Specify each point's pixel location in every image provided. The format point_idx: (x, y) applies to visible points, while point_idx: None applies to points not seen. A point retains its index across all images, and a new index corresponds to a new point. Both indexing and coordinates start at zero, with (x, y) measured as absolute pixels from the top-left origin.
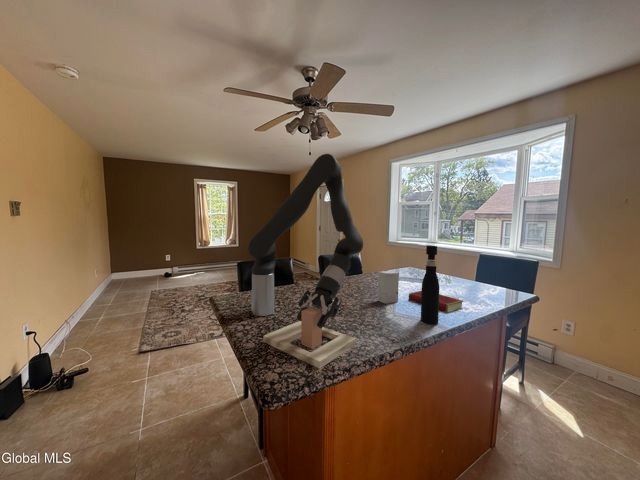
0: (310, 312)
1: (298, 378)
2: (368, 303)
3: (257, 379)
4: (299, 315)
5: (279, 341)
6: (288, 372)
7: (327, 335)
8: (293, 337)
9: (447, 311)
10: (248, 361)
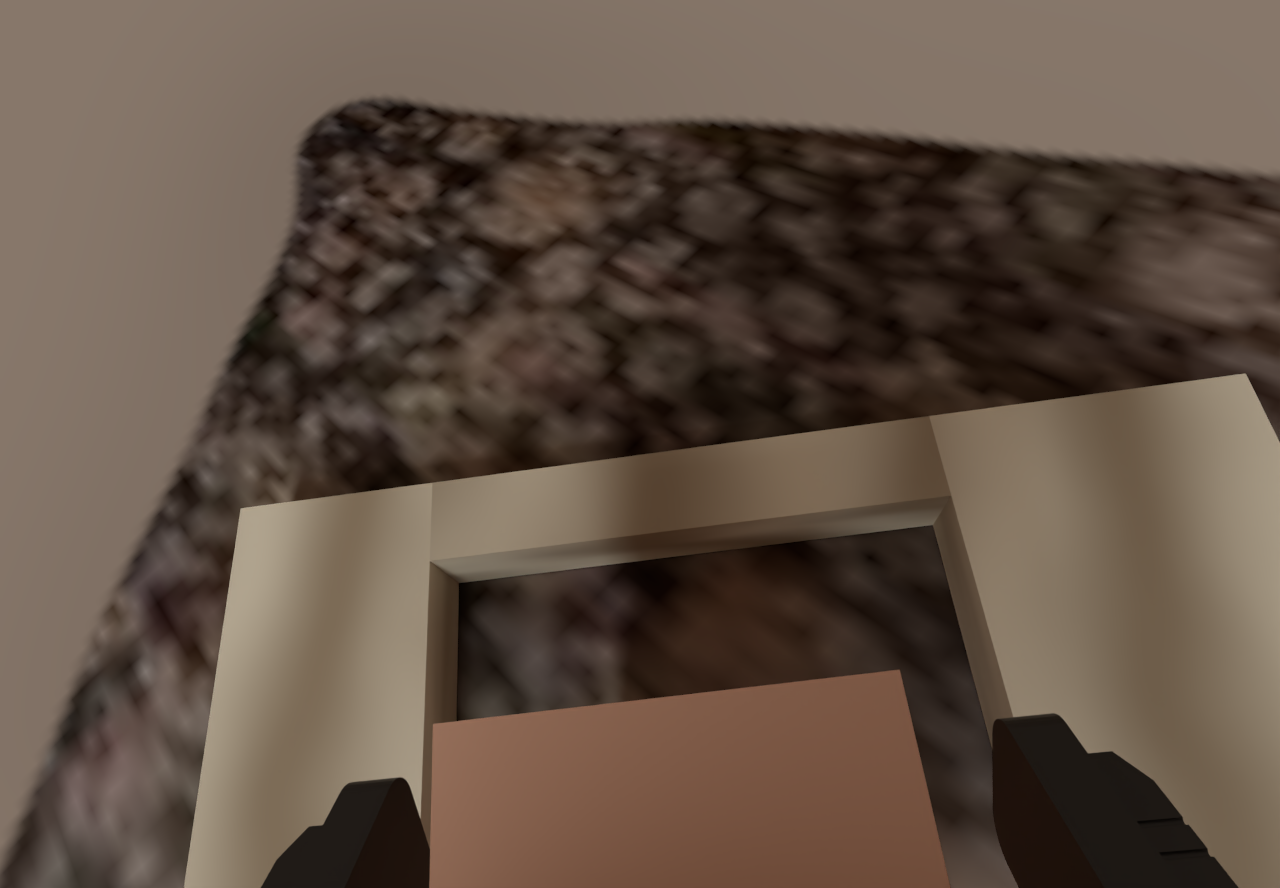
0: (578, 790)
1: (350, 325)
2: None
3: (576, 126)
4: (1043, 764)
5: (937, 445)
6: (469, 311)
7: None
8: None
9: None
10: (856, 157)
